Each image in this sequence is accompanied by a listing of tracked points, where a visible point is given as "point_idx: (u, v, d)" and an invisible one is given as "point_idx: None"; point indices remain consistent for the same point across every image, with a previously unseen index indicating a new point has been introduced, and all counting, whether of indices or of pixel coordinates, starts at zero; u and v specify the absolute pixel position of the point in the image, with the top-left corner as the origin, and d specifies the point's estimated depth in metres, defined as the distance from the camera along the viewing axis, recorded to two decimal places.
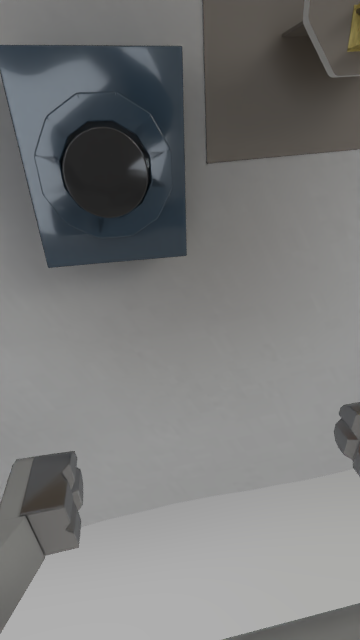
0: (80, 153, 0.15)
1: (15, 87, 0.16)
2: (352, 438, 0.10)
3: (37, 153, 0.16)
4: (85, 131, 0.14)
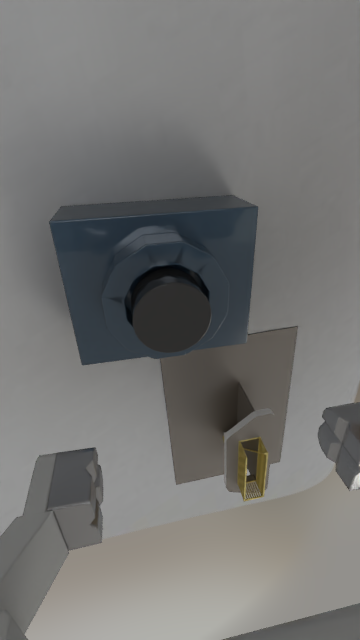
0: (191, 299, 0.16)
1: (229, 219, 0.17)
2: (335, 441, 0.10)
3: (185, 245, 0.16)
4: (208, 303, 0.16)
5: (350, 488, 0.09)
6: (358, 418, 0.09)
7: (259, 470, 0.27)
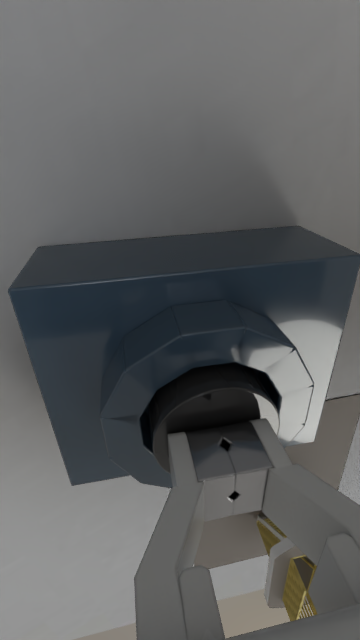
0: (251, 409, 0.09)
1: (314, 275, 0.10)
2: None
3: (249, 332, 0.09)
4: (277, 413, 0.10)
5: (233, 512, 0.09)
6: (242, 439, 0.09)
7: None
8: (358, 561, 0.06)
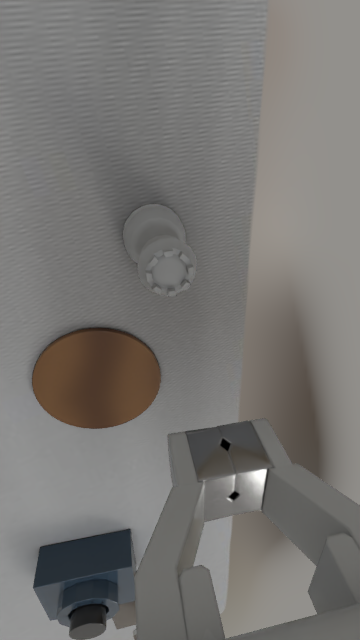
0: (95, 626, 0.35)
1: (118, 572, 0.37)
2: None
3: (93, 599, 0.36)
4: (103, 625, 0.36)
5: (233, 513, 0.09)
6: (242, 439, 0.09)
7: None
8: (358, 561, 0.06)
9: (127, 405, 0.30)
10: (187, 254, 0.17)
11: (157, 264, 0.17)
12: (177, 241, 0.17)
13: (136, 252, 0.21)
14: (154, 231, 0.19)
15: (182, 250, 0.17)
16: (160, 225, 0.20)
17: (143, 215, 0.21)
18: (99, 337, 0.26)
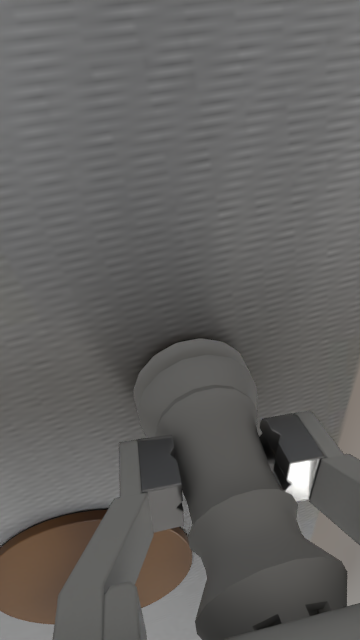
0: None
1: None
2: (270, 453, 0.09)
3: None
4: None
5: None
6: (290, 430, 0.09)
7: None
8: None
9: (139, 593, 0.19)
10: (340, 599, 0.06)
11: None
12: (312, 565, 0.06)
13: None
14: (214, 440, 0.08)
15: (330, 596, 0.06)
16: (221, 415, 0.09)
17: (179, 378, 0.10)
18: (93, 528, 0.15)
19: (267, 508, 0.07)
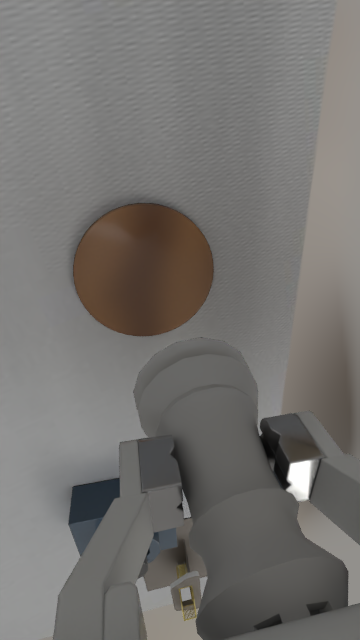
0: None
1: None
2: (270, 453, 0.09)
3: None
4: (145, 564, 0.33)
5: None
6: (290, 430, 0.09)
7: (193, 601, 0.44)
8: None
9: (175, 307, 0.27)
10: (341, 599, 0.06)
11: None
12: (313, 565, 0.06)
13: None
14: (214, 440, 0.08)
15: (331, 596, 0.06)
16: (222, 415, 0.09)
17: (180, 377, 0.10)
18: (149, 213, 0.23)
19: (268, 508, 0.07)
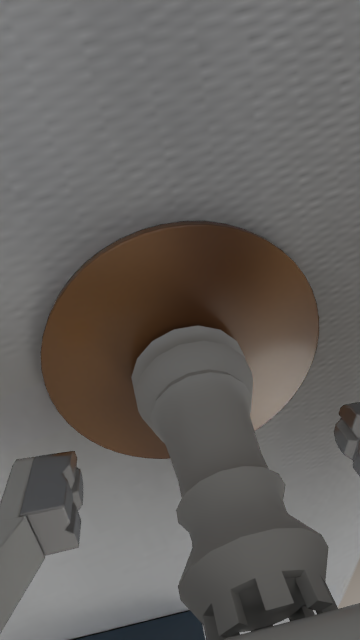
0: None
1: None
2: (352, 438, 0.10)
3: None
4: None
5: None
6: None
7: None
8: None
9: None
10: (318, 569, 0.06)
11: None
12: (291, 535, 0.06)
13: (161, 436, 0.10)
14: (205, 421, 0.09)
15: (307, 566, 0.06)
16: (214, 398, 0.09)
17: (175, 362, 0.10)
18: (207, 244, 0.10)
19: (252, 484, 0.07)
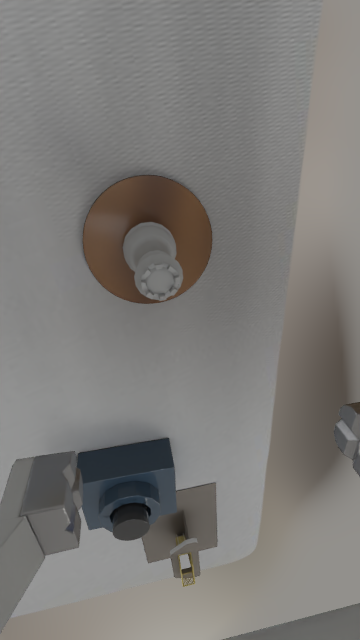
0: (139, 523, 0.35)
1: (160, 473, 0.36)
2: (352, 438, 0.10)
3: (136, 496, 0.35)
4: (147, 523, 0.35)
5: None
6: None
7: None
8: None
9: None
10: (174, 266, 0.21)
11: (150, 275, 0.21)
12: (166, 256, 0.21)
13: (134, 263, 0.25)
14: (149, 246, 0.23)
15: (170, 263, 0.21)
16: (153, 241, 0.24)
17: (139, 232, 0.25)
18: (153, 184, 0.25)
19: None
